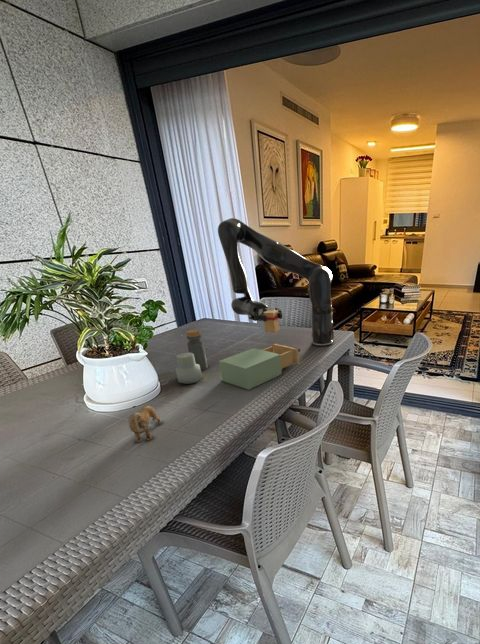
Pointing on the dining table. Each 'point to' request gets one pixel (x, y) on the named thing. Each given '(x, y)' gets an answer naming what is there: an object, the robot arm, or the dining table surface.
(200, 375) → the air freshener
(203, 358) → the bottle
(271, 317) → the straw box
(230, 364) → the cabinet
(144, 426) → the lion figurine
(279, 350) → the drawer
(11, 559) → the dining table surface
